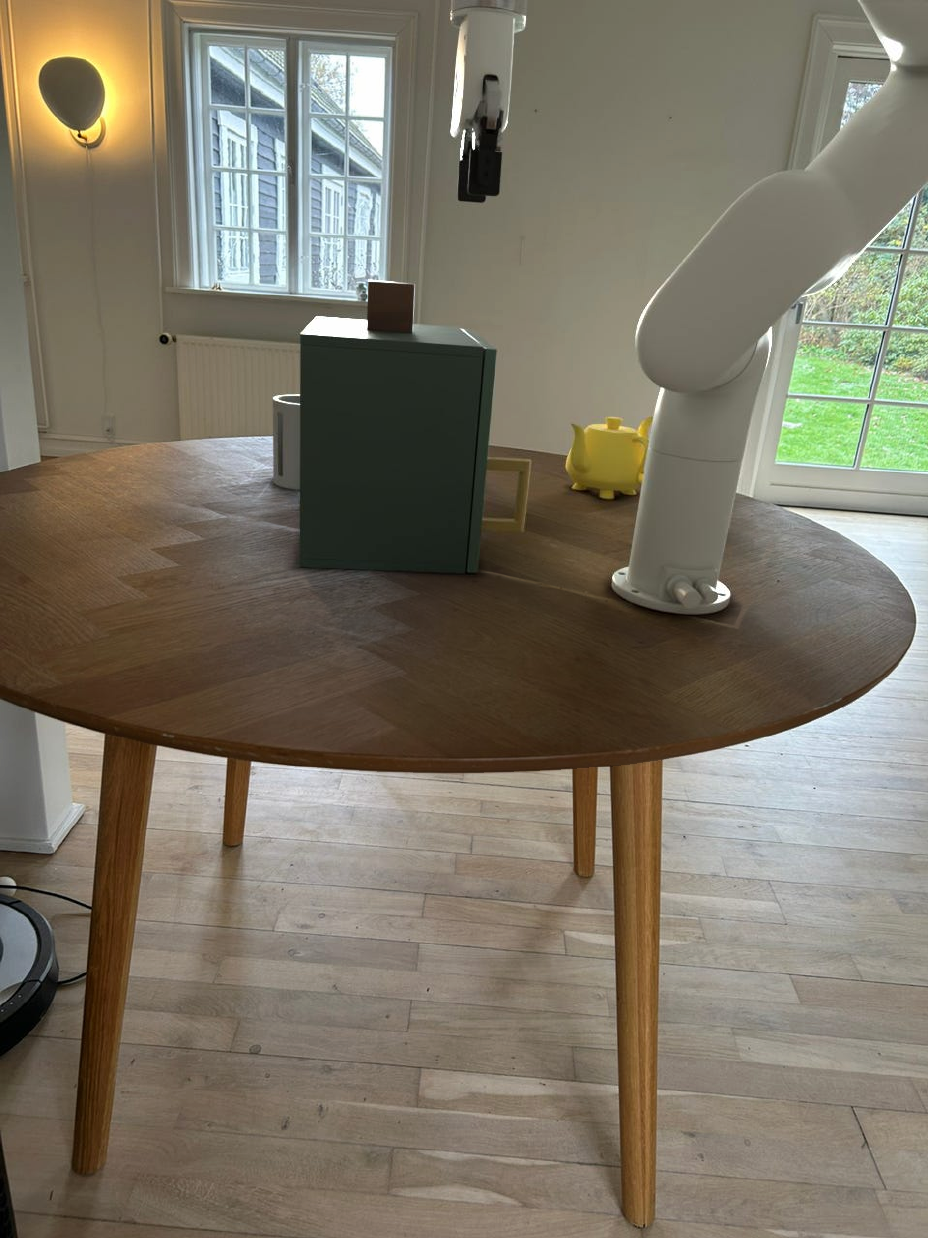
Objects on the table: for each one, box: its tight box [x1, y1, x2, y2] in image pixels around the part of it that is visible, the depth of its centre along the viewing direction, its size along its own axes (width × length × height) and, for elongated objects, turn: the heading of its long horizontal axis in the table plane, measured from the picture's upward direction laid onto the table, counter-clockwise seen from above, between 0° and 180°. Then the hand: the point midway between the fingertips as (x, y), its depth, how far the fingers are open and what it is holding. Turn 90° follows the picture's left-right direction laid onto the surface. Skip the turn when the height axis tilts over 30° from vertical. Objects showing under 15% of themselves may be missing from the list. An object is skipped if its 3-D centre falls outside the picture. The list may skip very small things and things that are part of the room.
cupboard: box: [299, 316, 484, 575], centre depth 100 cm, size 18×26×24 cm
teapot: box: [565, 416, 653, 500], centre depth 132 cm, size 20×15×12 cm
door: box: [461, 328, 532, 574], centre depth 102 cm, size 6×26×24 cm, turn 6°
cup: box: [272, 393, 300, 491], centre depth 123 cm, size 9×9×12 cm
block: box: [366, 279, 416, 333], centre depth 94 cm, size 5×5×5 cm
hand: (476, 198), depth 91 cm, fingers open, 9 cm apart
